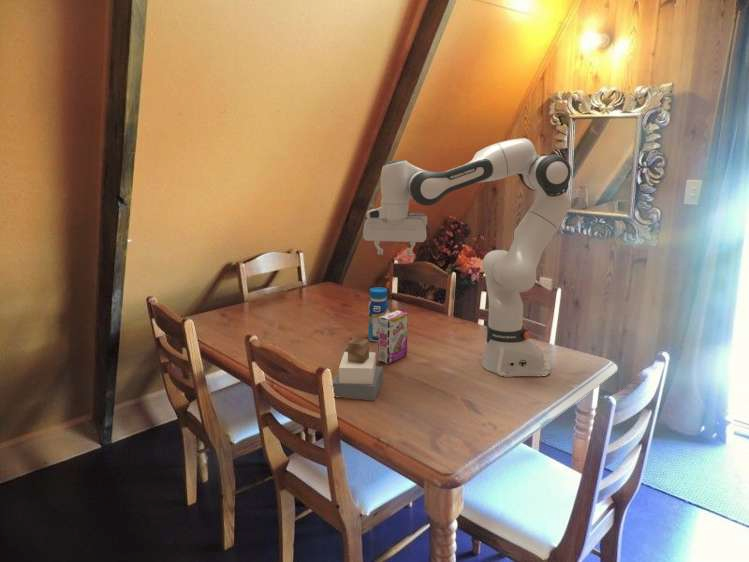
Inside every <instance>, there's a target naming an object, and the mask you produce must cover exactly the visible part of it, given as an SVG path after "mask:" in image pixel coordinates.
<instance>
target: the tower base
mask: <svg viewBox="0 0 749 562" xmlns="http://www.w3.org/2000/svg"><path fill="white" fill-rule="evenodd" d="M383 380H384V366H378V365H376V369H375V374H374V379H373V384H345V383H339V371H338V372H337V374H336V375H335V377H334V379H333V380H332V382H333V387H334V393H335V397H336V396H339V397H347V398H356V399H355V400H360V399H367V400H366V401H373V400H374V399H376V397H377V395H378V393H377V392H379V390H380V388H381V386H380V385H382V383H383ZM335 397H334V398H335ZM347 398H346V399H347ZM374 401H375V400H374Z"/></svg>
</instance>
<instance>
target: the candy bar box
mask: <svg viewBox="0 0 749 562" xmlns="http://www.w3.org/2000/svg"><path fill="white" fill-rule="evenodd" d="M408 314H409V313H408V312H406V311H402V310H397V309H396V310H395V311H392V312H390V313H389V314H386V315H383V316H381V317H378V318H379V321H378V342H377V343H378V344H377V346H378V349H377V350H378V351H377V354H378V355H377V356H378V358H377V359H378V362H380V363H382V364H386V365H390V364H392V363H394V362H396V361H398V360H400V359H402V358H404V357H407V356H408V328H409V327H408V324H409V321H408V317H409V315H408Z"/></svg>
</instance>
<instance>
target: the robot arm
mask: <svg viewBox="0 0 749 562" xmlns="http://www.w3.org/2000/svg"><path fill="white" fill-rule="evenodd" d="M380 172H381V173H380V192H381V199H380V206H377V207H375V208H373V209H370V210H367V212H366V218H367V219H366V220H365V221H364V223H363V232H362V237H363V239H364V241H369V242H373V245H374V246H375V249H376V250H377V255H378V256H383V255H384V248H381V247H380V245H379V244H381V243H380V242H398V243H399V242H401V243H405V242H406V243H409V245H410V248H409V249H406V256H408V257H409V256H410V257H411V256H412V255H413V253H412V252H413V249H414V247H415V246H416V243H424V242H425V241H426V240H427V225H428V217H427V215H426V214H424V213H423V212H420V211H419V212H414V211H413V212H410V211H409V207H410V205H409V202H410V200H414V201H415V202H416V203H417V204H420V205H421V206H428V207H429V206H433V205H436V204H437V203H439V202H440V201H441V200H442V199H443V198H444V197H446V196H447V195H448V194H450V193H452V192H454V191H457V190H460V189H462V188H465V187H468V186H472V185H474V184H478V183H479V184H480V183H486V182H493V181H498V180H501V179H506V178H507V177H510V176H514V175H518V178H519V179H520V180H521V183H522V184H523V186H525V188H527V189H528V190H529V191H530V190H531V191H535V192H536V195H535V199H534V202H533V204H532V205H531V207H530V208H529V209H528V211H527V212H526V213H525V215H524V216H523V218H522V219H521V221H520V222H519V224H518V225H517V227H516V228H515V229H514V232H513V239H512V243H511V245H510V248H509V250H508V251H507V250H504V249H494V250H490V251H489V252H487V254H485V255H484V257H483V259H482V265H481V266H482V270H483V273H484V276H485V284H486V290H487V291H486V292H487V297H488V321H487V322H488V324H486V330H485V331H486V332H485V334H486V335H485V340H486V347H485V351H484V357H483V360H482V362H481V365H482V367H483V368H484V370H485V369H486V370H487V371H488V372H491V373H495V374H496V373H497V374H496V375H498V376H500V377H502V376H504V378H516V377H515V376H538V375H539V376H542V375H547V374H549V373H550V374H551V371H550V369H551V365H550V363H549V362H548V360H546V359H545V356H544V352H543V351H542V349H541V347H540V346H538V345H537V344H536V343H535V342H534V341H532V340H531V339H530V338H531V334H530V332H529V330H528V328H527V327H526V326H525V327H524V326H523V320H524V319H523V317H524V316H523V315H524V304H523V300H522V297H521V294H520V293H526V292H527V291H529V290H531V288H533V286H534V285H535V284H536V280H537V268H538V265H539V262H540V259H541V257H542V255H543V252H544V250H545V249H546V248H547V245H548V244H549V243H550V241H551V240H552V238H553V237H554V235H555V234H556V232H557V231H558V229H559V228H560V226H561V225H562V223H563V222H564V220H565V218H566V216H567V214H568V212H569V210H570V208H571V204H572V202H571V198H570V196H569V195H568V194H567V190H569V182H570V180H571V175H572V168H571V164H570V163H569V161H567V160H566V158H564V157H562V156H560V155H556V154H552V155H539V154H538V152H536V147H535V145H534V144H533V142H532V141H531V140H530V139H528V138H525V137H523V138H514V139H508V140H504V141H503V140H502V141H500V142H496V143H493V144H491V145H488V146H486V147H483V149H479V150H478V151H476V153H474V155H473V158H472V159H471V160H470V161H469V162H467V163H465V164H463V165H459V166H457V167H454V168H451V169H448V170H446V171H441V172H439V171H438V172H437V171H430V170H429V171H428V170H425V169H422V168H421V167H418V166H415V165H413V164H411V163H410V162H408V161H407V160H406V159H404V158H403V159H402V158H401V159H394V160H390V161H387V162H386V163H384V164H383V166H382V168H381V171H380ZM546 371H547V372H546ZM550 374H549V375H550ZM513 376H514V377H513Z"/></svg>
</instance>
